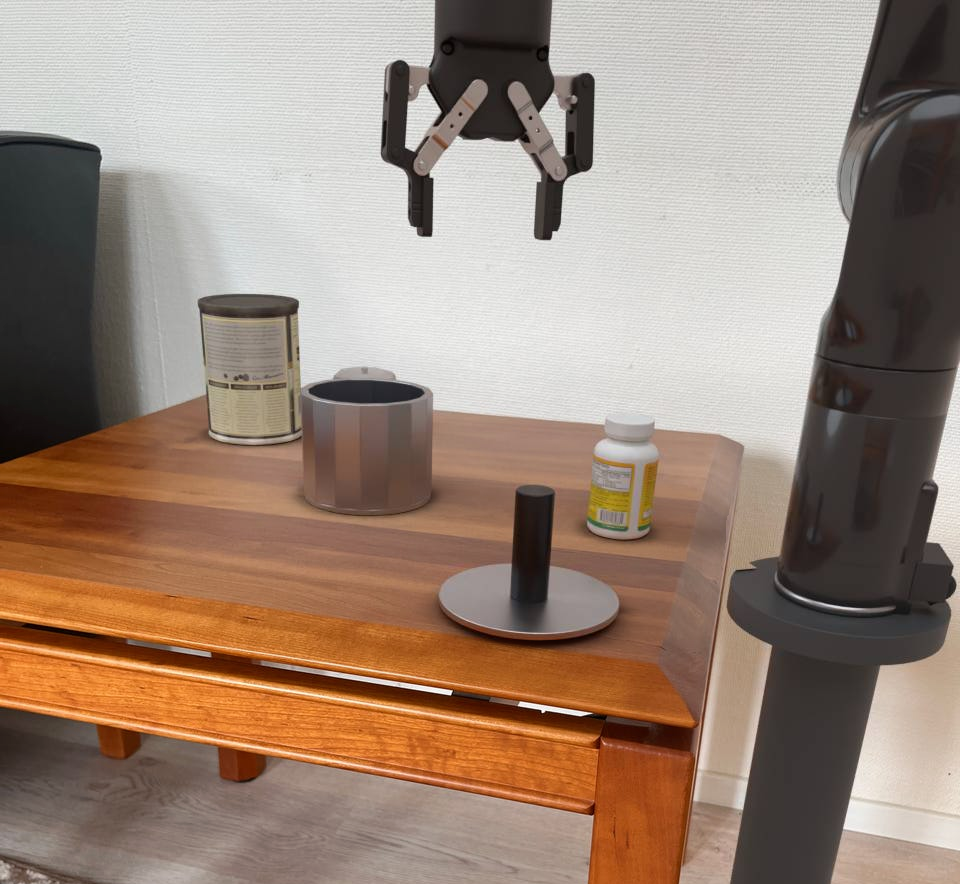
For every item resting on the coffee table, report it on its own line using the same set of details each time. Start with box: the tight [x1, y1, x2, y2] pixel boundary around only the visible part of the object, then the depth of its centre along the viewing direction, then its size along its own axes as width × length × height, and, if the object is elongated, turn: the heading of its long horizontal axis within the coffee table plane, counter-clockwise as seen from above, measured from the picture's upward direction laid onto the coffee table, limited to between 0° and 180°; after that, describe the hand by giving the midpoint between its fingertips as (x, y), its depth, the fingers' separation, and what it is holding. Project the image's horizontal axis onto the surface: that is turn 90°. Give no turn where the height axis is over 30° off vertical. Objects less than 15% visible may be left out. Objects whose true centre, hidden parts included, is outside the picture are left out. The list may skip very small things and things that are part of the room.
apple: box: [332, 365, 397, 380], centre depth 116 cm, size 8×8×7 cm
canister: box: [300, 378, 434, 516], centre depth 91 cm, size 11×11×10 cm
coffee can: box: [197, 293, 302, 446], centre depth 109 cm, size 10×10×14 cm
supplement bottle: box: [586, 412, 660, 541], centre depth 85 cm, size 5×5×10 cm
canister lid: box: [438, 484, 620, 641], centre depth 69 cm, size 12×12×9 cm
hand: (484, 237), depth 71 cm, fingers open, 8 cm apart
